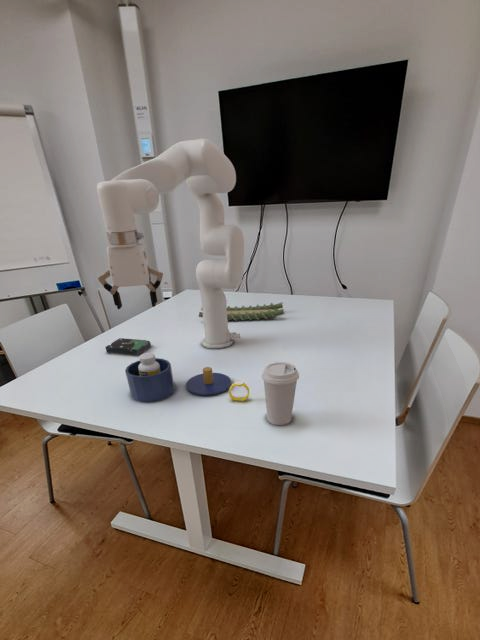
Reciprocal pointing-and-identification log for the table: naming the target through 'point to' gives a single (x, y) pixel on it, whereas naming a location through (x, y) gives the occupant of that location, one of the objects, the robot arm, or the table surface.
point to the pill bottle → (148, 365)
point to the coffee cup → (280, 391)
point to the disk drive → (128, 346)
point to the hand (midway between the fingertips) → (137, 306)
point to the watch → (238, 383)
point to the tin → (150, 382)
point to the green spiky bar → (253, 312)
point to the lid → (208, 383)
